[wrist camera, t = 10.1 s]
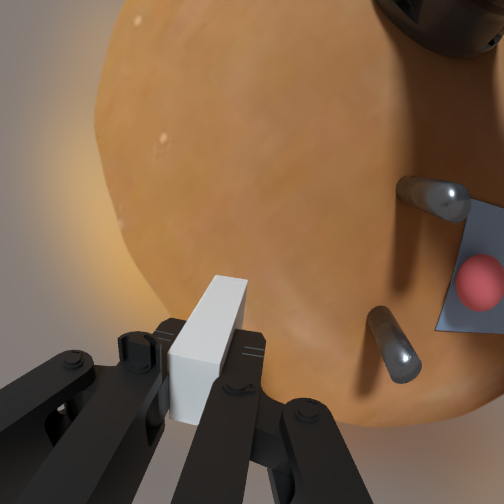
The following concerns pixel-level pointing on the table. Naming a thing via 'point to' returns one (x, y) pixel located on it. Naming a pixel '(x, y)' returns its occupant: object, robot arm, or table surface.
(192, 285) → the table surface
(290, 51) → the table surface
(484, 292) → the ball
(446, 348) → the table surface
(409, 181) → the post
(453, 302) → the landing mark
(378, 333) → the post
